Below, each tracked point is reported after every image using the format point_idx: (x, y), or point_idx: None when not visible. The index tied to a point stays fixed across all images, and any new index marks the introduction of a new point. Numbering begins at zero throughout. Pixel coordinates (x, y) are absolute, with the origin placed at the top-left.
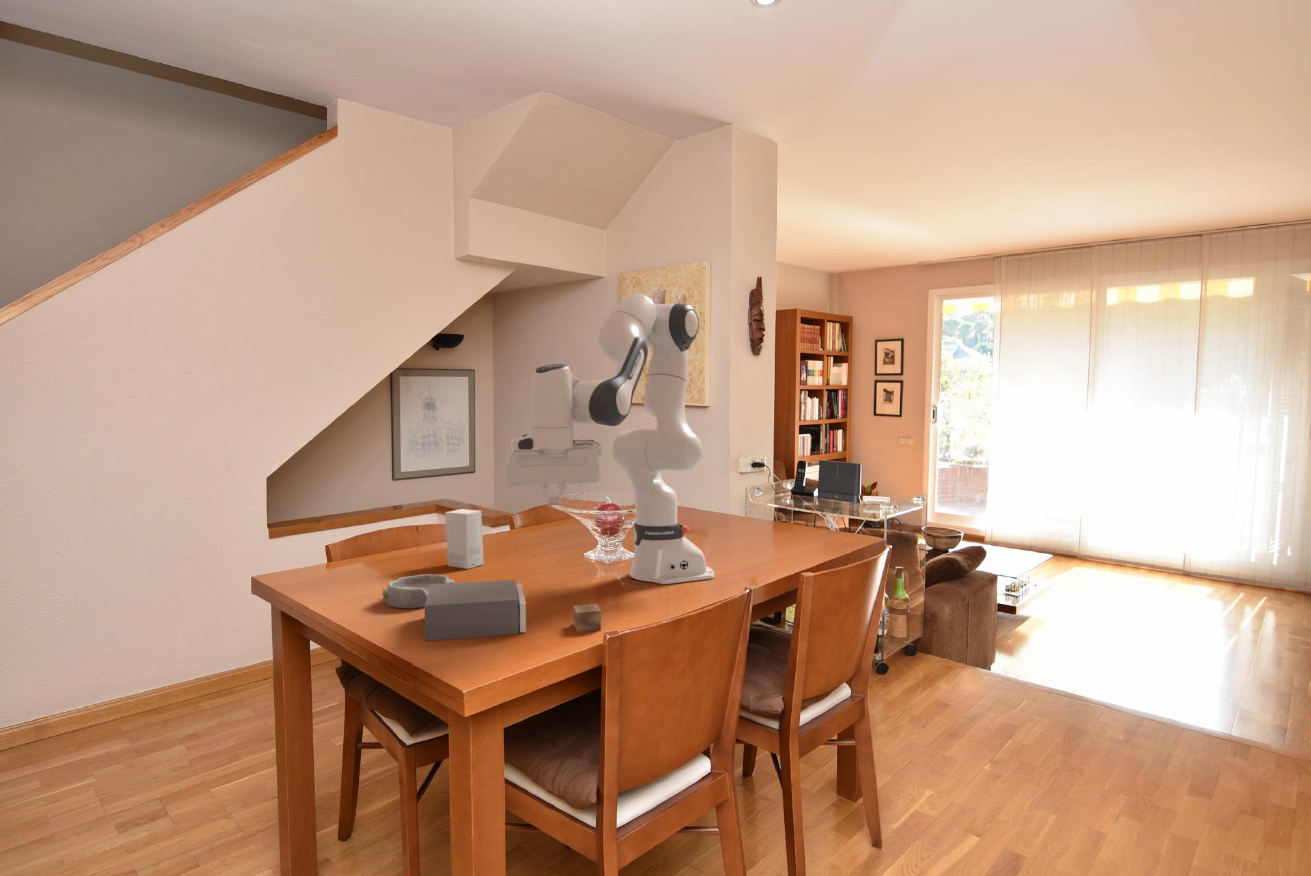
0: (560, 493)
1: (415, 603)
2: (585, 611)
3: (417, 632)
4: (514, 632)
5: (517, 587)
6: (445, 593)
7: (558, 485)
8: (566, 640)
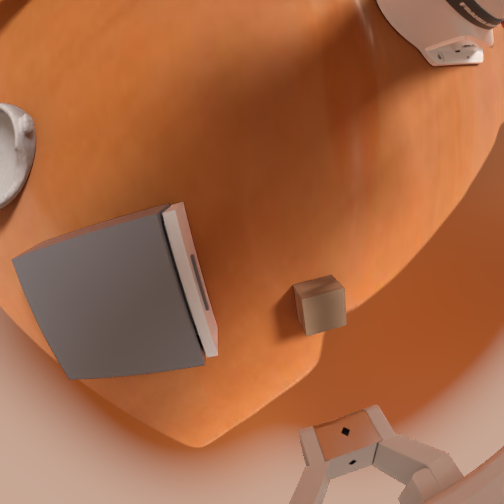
0: (393, 471)
1: (6, 205)
2: (321, 329)
3: None
4: None
5: (171, 243)
6: (59, 321)
7: (412, 492)
8: (283, 350)
